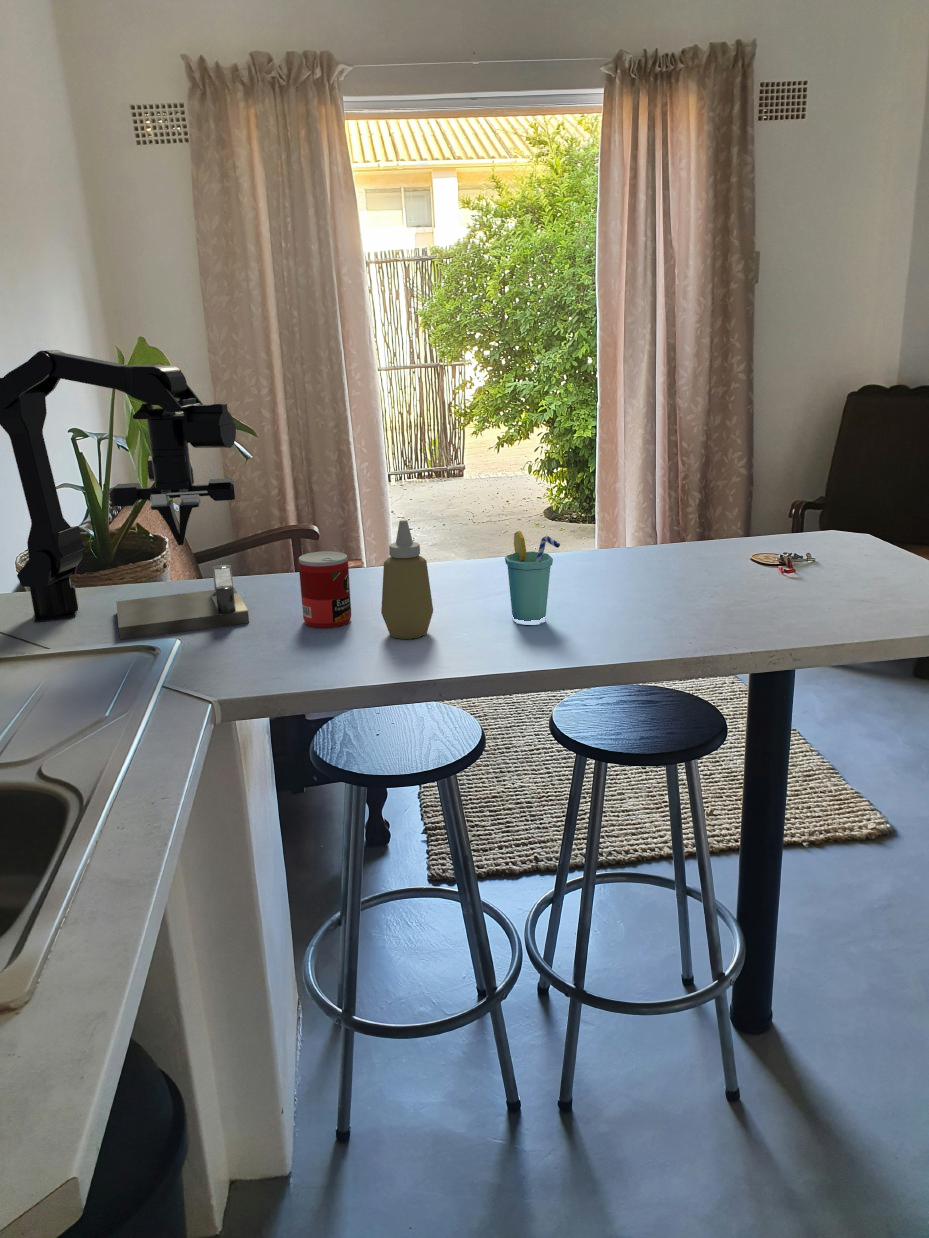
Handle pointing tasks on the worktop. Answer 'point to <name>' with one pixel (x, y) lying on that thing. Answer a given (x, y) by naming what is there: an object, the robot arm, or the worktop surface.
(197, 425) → the robot arm
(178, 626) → the wooden board
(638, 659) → the worktop surface
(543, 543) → the cup
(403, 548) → the squeeze bottle
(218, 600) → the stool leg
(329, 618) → the canned food
